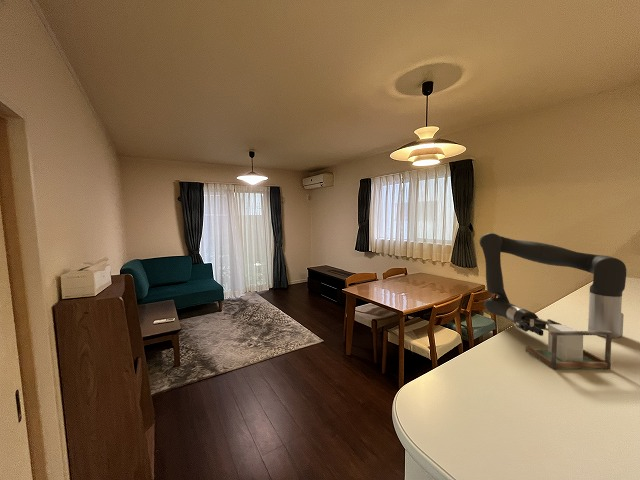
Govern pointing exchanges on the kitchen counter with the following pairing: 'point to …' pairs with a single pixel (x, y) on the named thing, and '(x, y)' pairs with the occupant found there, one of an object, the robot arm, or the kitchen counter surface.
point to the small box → (566, 344)
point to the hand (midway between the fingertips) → (554, 333)
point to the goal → (588, 358)
